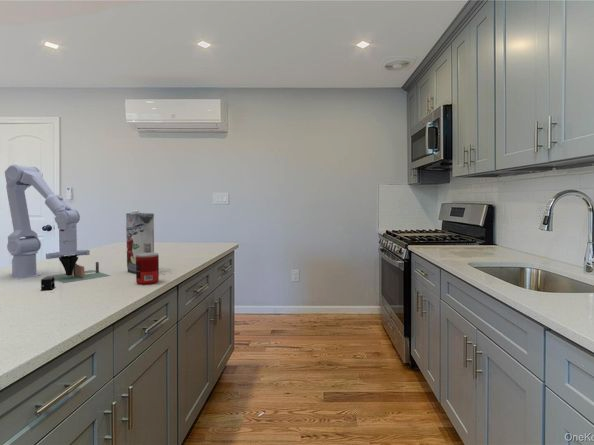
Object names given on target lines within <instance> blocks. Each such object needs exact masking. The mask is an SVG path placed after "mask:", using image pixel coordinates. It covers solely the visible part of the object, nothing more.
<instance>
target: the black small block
mask: <svg viewBox="0 0 594 445" xmlns="http://www.w3.org/2000/svg"><path fill="white" fill-rule="evenodd" d="M55 281H56V280H55V279H54V277H47V276H45V277H43V278H42V279H41V281H40V288H41V290H40V292H45V291H46V292H49V291H53V290H54V289H56V282H55ZM50 293H53V292H50Z"/></svg>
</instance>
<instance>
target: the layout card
mask: <svg viewBox="0 0 594 445" xmlns="http://www.w3.org/2000/svg"><path fill="white" fill-rule="evenodd" d="M84 276H85V277H80V276H74V275H70V276H67V275H66V273H61V274H54V275H46V277H54V279H55V281H57V282H59V283H62V284H66V283H67V284H68V283H73V282H80V281H86V280H87V281H88V280H93V279H99V278H106V277H111V275H109V274H107V273H104V272H100V271H99V272H98V273H96V270H93V269H89V270H84Z"/></svg>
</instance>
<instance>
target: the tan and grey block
mask: <svg viewBox="0 0 594 445" xmlns="http://www.w3.org/2000/svg"><path fill="white" fill-rule="evenodd" d="M99 263H100V262H99V261H96V262H95V271H96V273H98V272H100V268H99V266H100V264H99ZM75 265H78V264H77V263H76V264H75ZM72 275H74V276H77V275H75V266H74V268H73V272H72Z"/></svg>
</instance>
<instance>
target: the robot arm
mask: <svg viewBox="0 0 594 445" xmlns="http://www.w3.org/2000/svg"><path fill="white" fill-rule="evenodd" d="M43 176H44V175H43V173H42V172H41V171H40V169H39V168H38V167H36V166H26V165H17V164H10V165H9V166H8V167H7V168H6V169H5V170H4V177H5V183H6V186H5V187H6V194H7V199H8V205H9V211H10V217H11V224H12V229H13V231H12V232H11V233H10V234H9V235H8V236H7V244H6V248H7V252H8V253H9V254H10V256H12V259H11V273H12V274H9V275H8V276H9V277H11V278H12V279H15V280H18V279H26V278H32V277H33V278H35V277H40V276H41V274H39V273H38V270H37V254H39V253H38V252H39V250H40V249H41V246H42V244H41V243H42V242H41V239H39V236H38V233H37V232H36V231H34V230H33V229H32V228H31V227H32V226H31V222H30V215H29V209H28V204H27V198H26V197H27V196H26V192H25V191H26V190H27V189H28V188H30V187H31V186H32V187H33V188H34V189H35V190H36V191H37V192H38V193H39V194H40V195H41V196H42V197H43V198H44V199H45V201H44V205H46V207H48V209H49V210H50V211H51V213H52V214H53V215H54V216H55V217H54V222H55V223H56V225H57V229H58V238H59V239H58V240H59V242H58V243H59V251H57V252H50V253H49V252H48V253H45V259H46V260H51V259H58V260H59V261H60V263H61V265H62V267H63V268H64V271H65V274H66V275H67V276H70V275H72V272H73V268H74V266H75V264H77V262H78V261H79V257H81V256H91V255H90V250H89V249H84V250H83V249H80V250H79V249H78V242H77V240H78V238H77V236H78V234H77V231H78V230H77V224H78V223H79V222H80V218H81V216H80V215H81V214H79V211H78V210H76V209H73V208H72V207H71V206H70V205H69V204H67V203H66V201H65V200H64V197H63V196H62V195H59V194H55V193H54V192H53V191H52V189H51V188H50V186H49V185H48V183H47V182H46V181H45V179H44V178H43Z"/></svg>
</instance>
